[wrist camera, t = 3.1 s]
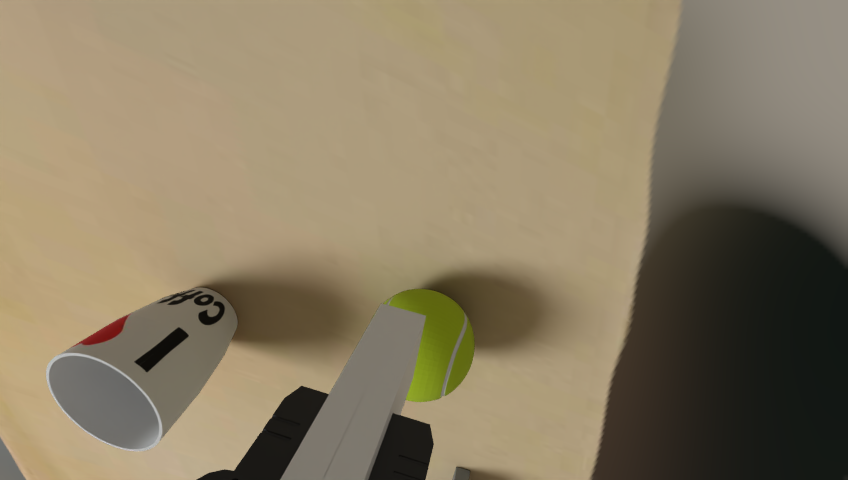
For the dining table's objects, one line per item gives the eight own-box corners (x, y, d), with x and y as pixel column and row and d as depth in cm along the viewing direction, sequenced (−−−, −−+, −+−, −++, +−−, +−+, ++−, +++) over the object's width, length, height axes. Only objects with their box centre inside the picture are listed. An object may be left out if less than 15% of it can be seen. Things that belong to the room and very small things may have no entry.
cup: (256, 288, 33) (156, 379, 24) (253, 364, 36) (166, 467, 28) (163, 258, 34) (33, 335, 25) (169, 336, 37) (59, 427, 28)
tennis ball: (489, 285, 28) (480, 353, 22) (467, 362, 31) (453, 441, 25) (390, 259, 29) (354, 317, 23) (378, 337, 32) (344, 407, 26)
